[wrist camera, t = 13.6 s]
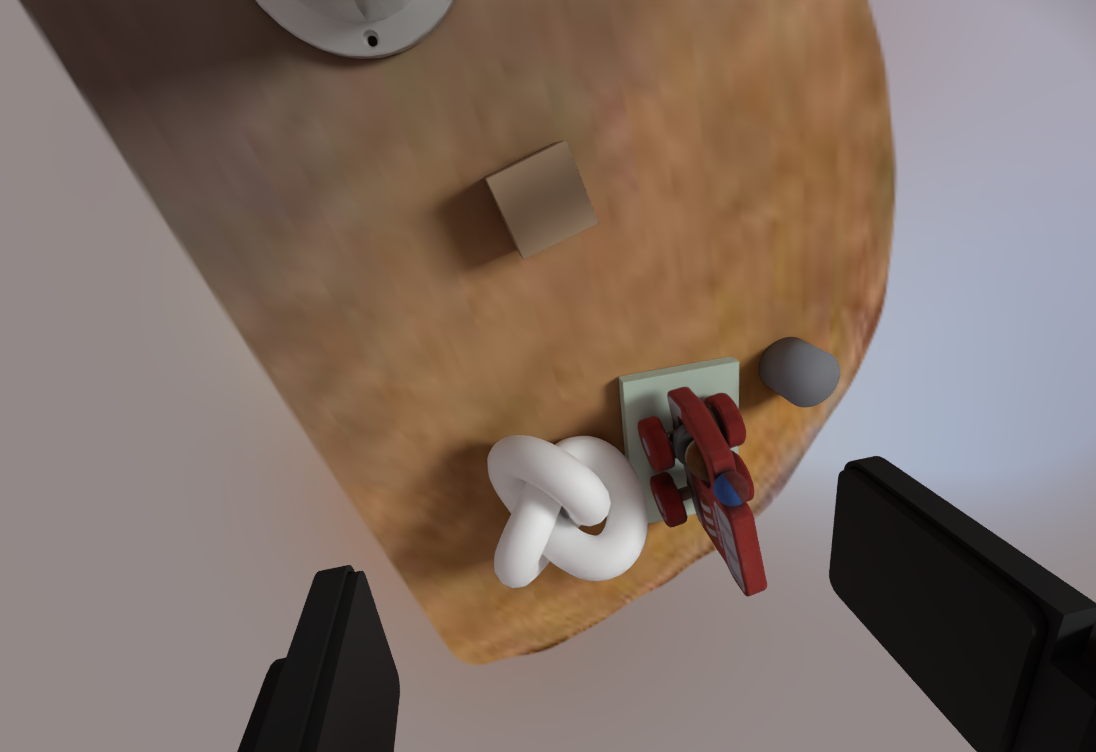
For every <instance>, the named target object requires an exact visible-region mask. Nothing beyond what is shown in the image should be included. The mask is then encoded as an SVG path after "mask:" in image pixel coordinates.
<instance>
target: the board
mask: <svg viewBox="0 0 1096 752" xmlns="http://www.w3.org/2000/svg"><path fill="white" fill-rule="evenodd" d="M618 378H619V390H620V402H621V414H622V426H623V438H624V450H625V457H626V458H627V459H628V461H629V462H630V463H631V465H632V466H633V467H634V469H635V471H636V473H637V475H638V477H639V479H640V481H641V484H642V487H643V490H644V493H645V496H646V503H647V509H648V524H649V523H654V522H659V521H663V518H662V516H661V514H660V512H659V510H658V507H657V505H656V502H655V499H654V497H653V494H652V490H651V486H650V478H651V477H652V476H654V475H657V474H660V473H662V472H667V473H669V474H670V475H671V476H672V478H673V480H674V483H675V485H676V486H677V489H679V488H682V487H685V486H687V476H686V471H685V468H684V465H683V464H682V463H681V462H680V461H679V460H678V459H677V458H675V466H674V467H673V468H671V469H668V470H665V471H662V472H656V471H654V470H653V468H652V467H651V465H650V463H649V461H648V459H647V457H646V454H645V452H644V449H643V446H642V443H641V440H640V437H639V433H638V422H639V421H640V420H643V419H645V418H648V417H651V416H656V417H658V418H659V419H660V421H661V422H662V425H663V427H664V429H665V431H666V432H669V431H674V430H673V420H672V415H671V412H670V407H669V404H668V398H667V393H668V391H670V390H674V389H677V388H681V387H689V388H690V389H691V390H692V391H693V393H694V394H695V395H696V396H697V397H698V398H699V399H700V400H701V401H702V402H704V399H705V398H707V397H709V396H711V395H714V394H717V393H726V394H728V395H729V396H730V397H731V398H732V400H733V401H734V402H735V404H736V405H737V407H738V409H739V361H738V360H736V359H735V358H734V357H732V356H730V357H724V358H719V359H713V360H708V361H702V362H697V363H691V364H686V365H680V366H675V367H669V368H664V369H658V370H653V371H647V372H642V373H636V374H631V375H625V376H620V377H618ZM731 450H732V451H734V452H735V453H737V454H738V446H736V447H733V448H731ZM683 503H684V506H685V509H686V512H687V515H692V514H696V511H695V508H694V504H693V500H692V498H691V499H688V500H685V501H683Z"/></svg>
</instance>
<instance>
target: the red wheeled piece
mask: <svg viewBox="0 0 1096 752" xmlns="http://www.w3.org/2000/svg"><path fill="white" fill-rule="evenodd" d="M667 398H668V404H669V407H670V412H671V415H672V420H673V430H674V431H669V432H666V431H665V429H664V427H663V425H662V422H661V421H660V419H659V418H658V417H656V416H651V417H648V418H645V419H643V420H640V421H639V422H638V433H639V437H640V440H641V443H642V446H643V449H644V452H645V454H646V457H647V459H648V461H649V463H650V465H651V467H652V468H653V470H654V471H656V472H662V471H665V470H668V469H671V468H673V467H674V466H675V458H677V459H678V460H679V461H680V462H681V463H682V464H683V465H684V468H685V471H686V476H687V486H685V487H682V488H679V489H677V486H676V485H675V483H674V480H673V478H672V476H671V475H670V474H669V473H667V472H662V473H660V474H657V475H654V476H652V477H651V478H650V486H651V490H652V494H653V497H654V499H655V502H656V505H657V507H658V510H659V512H660V514H661V516H662V518H663V520H664V521H665V523H666V524H667V525H668V526H669V527H675V526H678V525H680V524H683V523H685V522H686V521H687V512H686V509H685V506H684V503H683V501H685V500H688V499H691V498H692V500H693V504H694V508H695V511H696V514H697V517H698V519H699V521H700V522H701V524H702V526H703V528H704V529H705V531H706V532H707V534H708V535H709V537H710V539H711V540H712V542H713V543H714V545H715V547H716V548H717V550H718V551H719V553H720V554H721V556H722V557H723V559H724V560H725V562H726V564H727V566H728V568H729V570H730V572H731V574H732V576H733V578H734V579H735V581H736V583H737V584H738V586H739V587H740V589H741V590H742V591H743V593H744V594H745V595H746V596H751V595H753V594H756V593H758V592H761V591H764V590H765V589H766V588H767V581H766V577H765V572H764V566H763V562H762V556H761V552H760V547H759V542H758V537H757V531H756V526H755V521H754V517H753V514H752V511H751V509H750V507H749V505H748V504H747V501H750V500H752V499H753V497H754V486H753V482H752V479H751V476H750V474H749V471H748V469H747V467H746V465H745V464H744V462H743V460H742V459H741V458H740V456H739V455H738V454H737V453H735V452H734V451H732V450H731V448H733V447H736V446H739V445H741V444H743V443H744V441H745V439H746V429H745V425H744V422H743V419H742V416H741V414H740V411H739V409H738V407H737V405H736V404H735V402H734V401H733V400H732V398H731V397H730V396H729V395H728V394H726V393H717V394H714V395H711V396H709V397H707V398H705V399H704V402H702V401H701V400H700V399H699V398H698V397H697V396H696V395H695V394H694V393H693V391H692V390H691V389H690V388H689V387H681V388H677V389H674V390H670V391H668V393H667Z"/></svg>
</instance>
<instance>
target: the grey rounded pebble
mask: <svg viewBox="0 0 1096 752" xmlns="http://www.w3.org/2000/svg"><path fill="white" fill-rule="evenodd" d="M759 374H760V377H761V380H762V381H763V383H764V384H765V385H767V386H768V387H769V388H771V389H772V390H774V391H775V392H776V393H778V394H779V395H781V396H782V397H784V398H785V399H787V400H788V401H789V402H791V403H792V404H794V405H796V406H799V407H811V406H815V405H817V404H819V403H821V402H823V401H824V400H826V399H827V398H828V397H829V396H830V395H831V394H832V393H833V391H834V390H835V388H836V386H837V384H838V381H839V378H840V367H839V363H838V361H837V360H836V358H835V357H834V356H833V355H831V354H830V353H828V352H826V351H824V350H822V349H820V348H818V347H816V346H814V345H811V344H809V343H807V342H805V341H803V340H801V339H799V338H796V337H786V338H783V339H780V340H778V341H776V342H774V343H773V344H772V345H770V346H769V347H768V348H767V350H766V351H765V352H764V354H763V356H762V358H761V360H760V364H759Z"/></svg>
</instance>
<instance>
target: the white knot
mask: <svg viewBox="0 0 1096 752" xmlns="http://www.w3.org/2000/svg"><path fill="white" fill-rule="evenodd" d="M487 465H488V474H489V478H490V481H491V483H492V485H493V487H494V489H495V491H496V493H497V494H498V496H499V497H500V499H501V500H502V502H503V503H504V505H505V506H506V507H507V508H508V510H509V512H510V513H511V516H510V517H509V519H508V522H507V524H506V526H505V528H504V530H503V533H502V535H501V537H500V540H499V543H498V545H497V548H496V551H495V555H494V569H495V573H496V575H497V576H498V578H499V579H500V581H501V582H502V584H504V585H507V586H509V587H511V588H518V587H524V586H526V585H528V584H529V583H530V582H531V581H532V580H534V579H535V578H536V577H537V576H538V575H539V574H540V573H541V572H542V570H543V569H544V568H545V567H546V566H547V565H548V563H549V562H550V561H551V562H552V563H553V564H555V565H556V566H557V567H559V568H561V569H562V570H564V571H566V572H568V573H569V574H571V575H573V576H575V577H578V578H580V579H584V580H588V581H602V580H609V579H611V578H614V577H616V576H619V575H621V574H622V573H623V572H625V571H626V570H627V569H629V568H630V567H631V566H632V565H633V563H634V562H635V561H636V560H637V558H638V557H639V555H640V553H641V551H642V549H643V546H644V544H645V540H646V535H647V530H648V509H647V503H646V496H645V493H644V490H643V487H642V484H641V481H640V479H639V477H638V475H637V473H636V471H635V469H634V467H633V466H632V465H631V463H630V462H629V461H628V459H627V458H626V457H625V456H624V455H623V454H622V453H621V452H620V451H619V450H618V449H617V448H616V447H614V446H613V445H611V444H609V443H608V442H606V441H604V440H601V439H599V438H596V437H591V436H576V437H570V438H566V439H563V440H561V441H559V442H558V443H556V444H555V445H554V444H552V443H550V442H547V441H545V440H542V439H539V438H536V437H532V436H522V435H511V436H506V437H505V438H503V439H501V440H499V441H498V442H497V443H495V444H494V445H493V447H492V449H491V451H490V453H489V455H488V458H487ZM606 516H607V520H606V524H605V527H604V529H603V531H602V532H601V533H600V534H599V535H597V536H594V535H590V534H587V533H584V532H582V531H581V530H579V529H578V528H579V527H580V526H581V525H585V526H593V525H596V524H599V523H601V522H602V521H603V520H604V519H605V517H606Z"/></svg>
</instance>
